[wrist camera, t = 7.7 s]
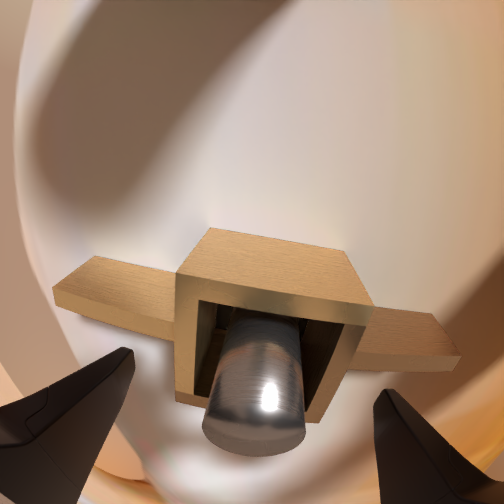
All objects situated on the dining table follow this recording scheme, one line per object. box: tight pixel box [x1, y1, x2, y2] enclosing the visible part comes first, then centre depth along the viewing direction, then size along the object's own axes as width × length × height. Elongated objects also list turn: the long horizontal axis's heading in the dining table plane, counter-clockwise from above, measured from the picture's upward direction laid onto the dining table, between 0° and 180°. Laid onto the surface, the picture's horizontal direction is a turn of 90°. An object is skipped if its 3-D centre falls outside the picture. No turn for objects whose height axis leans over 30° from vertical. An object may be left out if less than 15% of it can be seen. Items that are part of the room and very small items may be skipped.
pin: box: [202, 306, 306, 457], centre depth 11 cm, size 3×3×8 cm
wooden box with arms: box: [52, 228, 462, 423], centre depth 12 cm, size 20×6×5 cm, turn 81°
